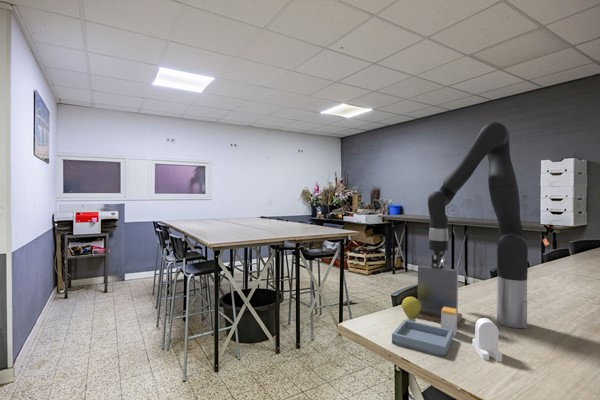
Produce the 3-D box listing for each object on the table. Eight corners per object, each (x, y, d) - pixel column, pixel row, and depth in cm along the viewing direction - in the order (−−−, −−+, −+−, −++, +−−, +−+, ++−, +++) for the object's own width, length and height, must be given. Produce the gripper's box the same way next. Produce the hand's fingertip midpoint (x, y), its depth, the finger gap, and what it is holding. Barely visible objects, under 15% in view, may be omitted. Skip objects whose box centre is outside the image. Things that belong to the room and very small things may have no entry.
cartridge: (456, 331, 113) (457, 309, 113) (454, 336, 109) (455, 313, 109) (443, 328, 116) (443, 306, 115) (441, 333, 112) (441, 310, 112)
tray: (452, 339, 107) (452, 330, 107) (445, 357, 96) (445, 347, 96) (404, 327, 116) (404, 319, 116) (391, 343, 105) (391, 333, 105)
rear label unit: (462, 317, 125) (462, 267, 125) (458, 326, 117) (458, 273, 117) (419, 309, 134) (420, 262, 134) (413, 317, 126) (413, 267, 126)
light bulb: (398, 320, 123) (398, 294, 123) (415, 319, 123) (415, 294, 123) (405, 327, 116) (406, 300, 116) (423, 327, 117) (424, 299, 116)
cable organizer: (489, 345, 103) (490, 314, 102) (502, 362, 93) (503, 327, 93) (471, 344, 104) (472, 313, 103) (482, 360, 94) (483, 326, 94)
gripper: (445, 241, 127) (444, 282, 128) (451, 237, 139) (450, 274, 140) (425, 240, 132) (424, 279, 132) (432, 236, 143) (432, 272, 144)
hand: (438, 277), depth 136 cm, fingers open, 8 cm apart
